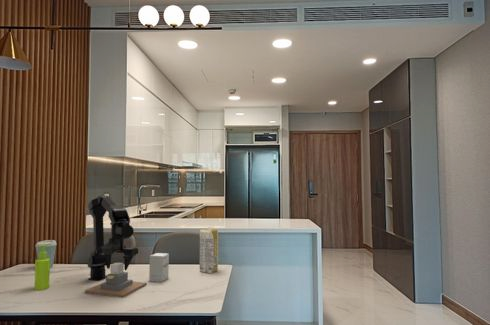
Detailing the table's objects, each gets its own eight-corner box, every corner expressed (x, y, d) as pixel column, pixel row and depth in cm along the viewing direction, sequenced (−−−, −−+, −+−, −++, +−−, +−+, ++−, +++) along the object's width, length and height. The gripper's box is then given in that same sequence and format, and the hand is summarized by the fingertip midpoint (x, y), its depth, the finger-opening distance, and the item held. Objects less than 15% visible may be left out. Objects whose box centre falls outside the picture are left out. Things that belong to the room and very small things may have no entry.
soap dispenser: (53, 286, 165) (55, 243, 166) (41, 290, 159) (42, 246, 160) (44, 285, 167) (45, 242, 168) (31, 289, 161) (32, 245, 162)
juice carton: (219, 270, 194) (220, 227, 195) (210, 274, 187) (211, 228, 188) (206, 268, 199) (206, 225, 200) (197, 271, 192) (197, 227, 193)
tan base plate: (84, 293, 155) (84, 277, 156) (110, 281, 173) (110, 267, 173) (123, 297, 150) (124, 280, 150) (146, 285, 167) (146, 270, 168)
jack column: (110, 286, 160) (110, 264, 161) (115, 284, 164) (116, 262, 164) (117, 287, 159) (118, 265, 159) (123, 284, 163) (123, 263, 163)
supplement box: (162, 282, 172) (163, 256, 173) (148, 281, 174) (149, 255, 174) (168, 278, 180) (169, 253, 180) (155, 277, 181) (155, 252, 182)
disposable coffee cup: (49, 270, 194) (50, 243, 195) (30, 270, 194) (31, 242, 195) (59, 265, 205) (60, 239, 205) (41, 265, 205) (42, 239, 206)
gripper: (88, 237, 157) (87, 272, 157) (124, 239, 152) (124, 275, 152) (104, 233, 168) (104, 266, 167) (139, 235, 163) (138, 269, 162)
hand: (117, 269), depth 162 cm, fingers open, 9 cm apart
